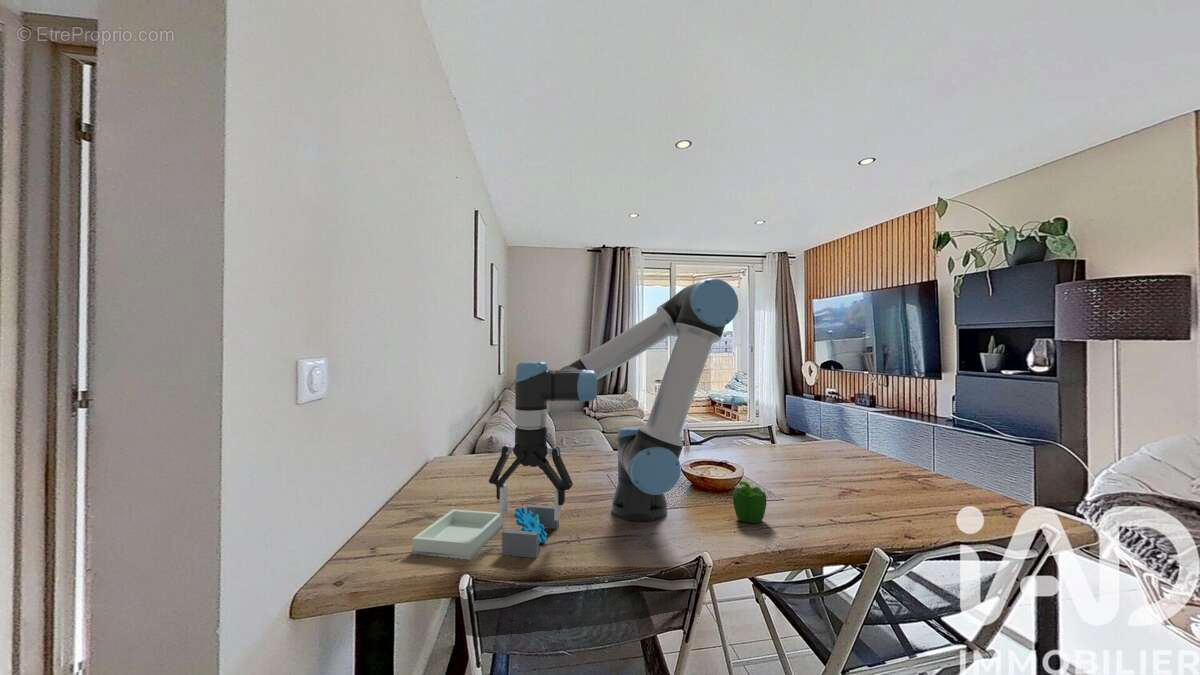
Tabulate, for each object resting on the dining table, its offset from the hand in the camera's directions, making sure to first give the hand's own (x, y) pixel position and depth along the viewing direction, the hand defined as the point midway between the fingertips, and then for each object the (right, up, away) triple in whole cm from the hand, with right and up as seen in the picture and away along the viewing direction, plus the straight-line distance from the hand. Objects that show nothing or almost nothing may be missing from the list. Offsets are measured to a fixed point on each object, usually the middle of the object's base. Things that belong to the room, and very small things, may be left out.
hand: (530, 515), depth 104 cm
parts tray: (-17, -6, +1) cm, 18 cm away
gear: (0, -6, 0) cm, 6 cm away
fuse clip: (+1, -6, 0) cm, 6 cm away
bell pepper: (+56, -5, +10) cm, 57 cm away
